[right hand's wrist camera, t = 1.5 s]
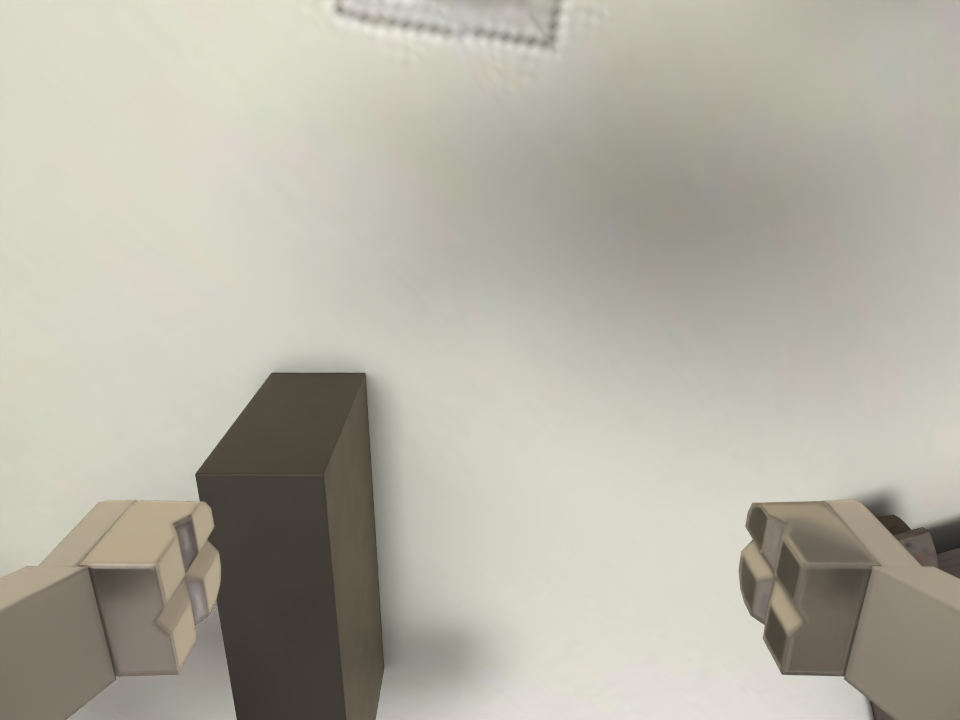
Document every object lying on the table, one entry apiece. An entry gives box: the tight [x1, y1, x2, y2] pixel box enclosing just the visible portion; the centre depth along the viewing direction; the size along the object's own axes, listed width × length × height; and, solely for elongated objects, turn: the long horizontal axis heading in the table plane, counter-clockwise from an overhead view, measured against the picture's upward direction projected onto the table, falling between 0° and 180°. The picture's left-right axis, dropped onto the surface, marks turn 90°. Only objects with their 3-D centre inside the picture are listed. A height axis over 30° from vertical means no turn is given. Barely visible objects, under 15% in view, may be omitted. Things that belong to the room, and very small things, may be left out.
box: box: [195, 373, 384, 720], centre depth 42 cm, size 24×6×12 cm, turn 0°
